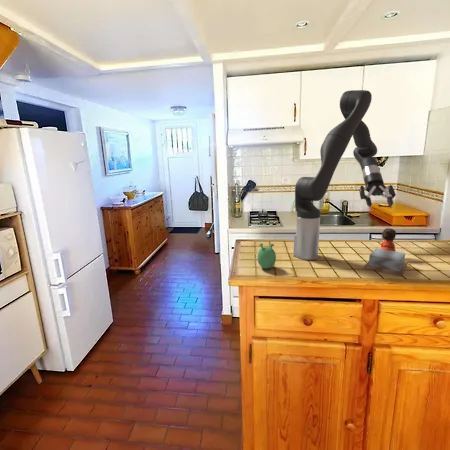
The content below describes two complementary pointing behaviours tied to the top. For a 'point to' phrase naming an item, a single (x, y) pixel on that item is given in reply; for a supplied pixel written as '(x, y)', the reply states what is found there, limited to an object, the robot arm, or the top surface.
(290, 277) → the top surface
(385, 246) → the figurine
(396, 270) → the pedestal
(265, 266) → the alien toy
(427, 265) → the top surface
